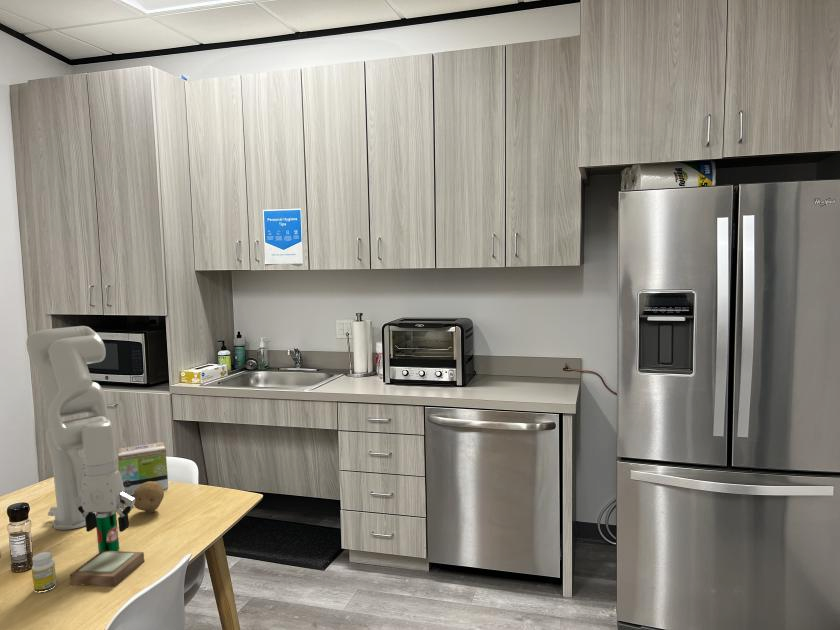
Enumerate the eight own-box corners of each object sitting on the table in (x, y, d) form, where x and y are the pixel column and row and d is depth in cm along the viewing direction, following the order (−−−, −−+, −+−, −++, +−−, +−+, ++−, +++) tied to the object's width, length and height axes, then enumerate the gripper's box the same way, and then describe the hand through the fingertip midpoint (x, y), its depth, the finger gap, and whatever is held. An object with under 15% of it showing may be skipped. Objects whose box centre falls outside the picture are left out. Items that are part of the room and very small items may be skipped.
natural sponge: (156, 519, 184) (153, 487, 183) (128, 519, 185) (125, 488, 184) (170, 506, 193) (167, 476, 192) (143, 507, 194) (140, 477, 193)
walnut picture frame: (70, 584, 148) (69, 573, 147) (103, 560, 159) (101, 549, 159) (115, 586, 146) (113, 574, 146) (144, 561, 158) (143, 550, 157)
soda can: (111, 557, 161) (106, 514, 159) (94, 556, 162) (90, 513, 160) (123, 548, 165) (119, 506, 164) (107, 547, 167) (103, 506, 165)
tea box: (121, 498, 202) (117, 456, 200) (120, 489, 211) (116, 448, 209) (169, 489, 208) (165, 447, 207) (166, 480, 217) (163, 440, 216)
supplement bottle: (40, 583, 149) (37, 551, 148) (60, 582, 149) (57, 550, 148) (30, 594, 144) (26, 561, 143) (50, 593, 144) (46, 559, 143)
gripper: (62, 473, 159) (69, 535, 160) (121, 472, 156) (128, 535, 157) (82, 463, 166) (88, 523, 167) (139, 463, 163) (145, 523, 165)
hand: (107, 529), depth 162 cm, fingers open, 9 cm apart
